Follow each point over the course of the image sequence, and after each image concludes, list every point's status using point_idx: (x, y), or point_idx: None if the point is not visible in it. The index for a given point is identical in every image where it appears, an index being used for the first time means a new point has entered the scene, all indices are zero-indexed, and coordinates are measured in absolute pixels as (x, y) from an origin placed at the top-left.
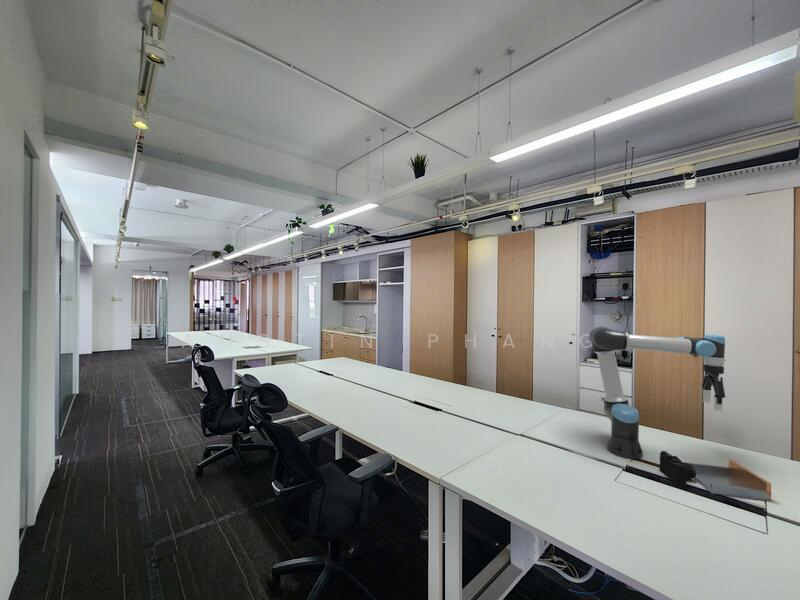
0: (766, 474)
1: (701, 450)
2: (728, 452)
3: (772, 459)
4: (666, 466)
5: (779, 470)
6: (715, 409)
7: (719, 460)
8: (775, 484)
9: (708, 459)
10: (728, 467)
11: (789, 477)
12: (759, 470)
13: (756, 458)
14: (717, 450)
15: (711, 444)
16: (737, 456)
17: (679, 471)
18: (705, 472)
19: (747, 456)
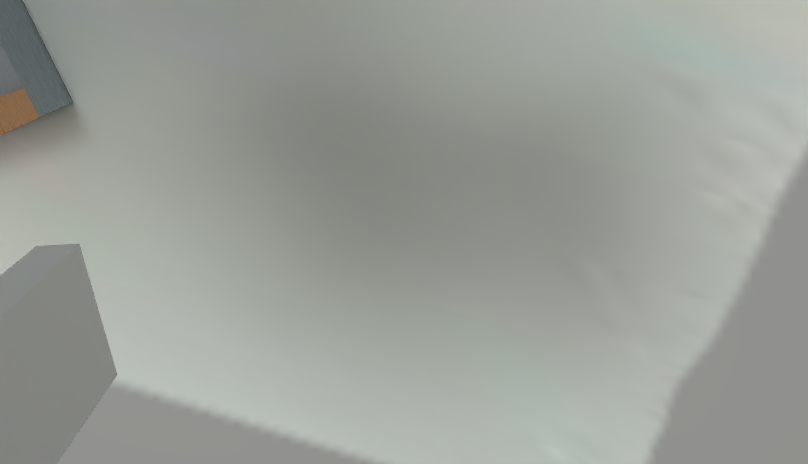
0: (263, 323)
1: (540, 11)
2: (605, 223)
3: (601, 449)
4: None
5: (398, 417)
6: (30, 266)
7: (355, 97)
8: (108, 314)
9: (321, 10)
10: (7, 82)
11: (302, 425)
12: (314, 307)
13: (567, 366)
14: (614, 152)
15: (762, 146)
16: (540, 259)
17: None
18: None
19: (580, 325)
